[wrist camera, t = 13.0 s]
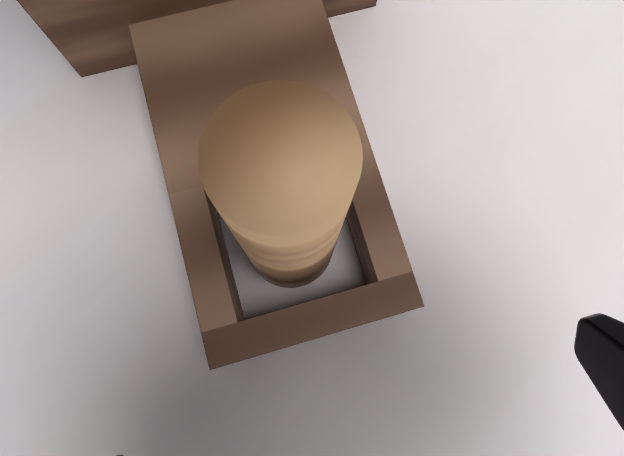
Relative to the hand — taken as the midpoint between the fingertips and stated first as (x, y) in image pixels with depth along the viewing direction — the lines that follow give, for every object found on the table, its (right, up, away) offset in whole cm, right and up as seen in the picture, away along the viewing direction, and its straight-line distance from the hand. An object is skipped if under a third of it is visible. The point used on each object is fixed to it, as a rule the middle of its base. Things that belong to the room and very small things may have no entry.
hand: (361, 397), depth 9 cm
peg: (-2, +2, +14) cm, 15 cm away
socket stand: (-3, +6, +15) cm, 17 cm away
